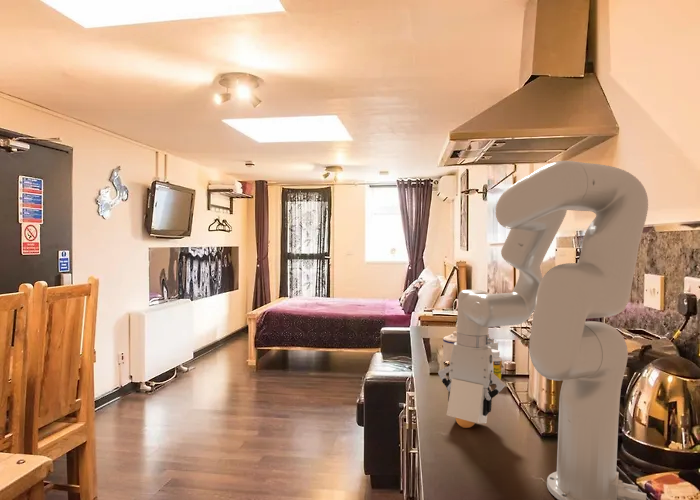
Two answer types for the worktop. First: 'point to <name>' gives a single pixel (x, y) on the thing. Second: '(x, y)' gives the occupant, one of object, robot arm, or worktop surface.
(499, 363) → the supplement bottle
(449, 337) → the teacup with lid
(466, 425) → the ball
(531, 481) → the worktop surface
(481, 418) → the cream matte cube
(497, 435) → the worktop surface
